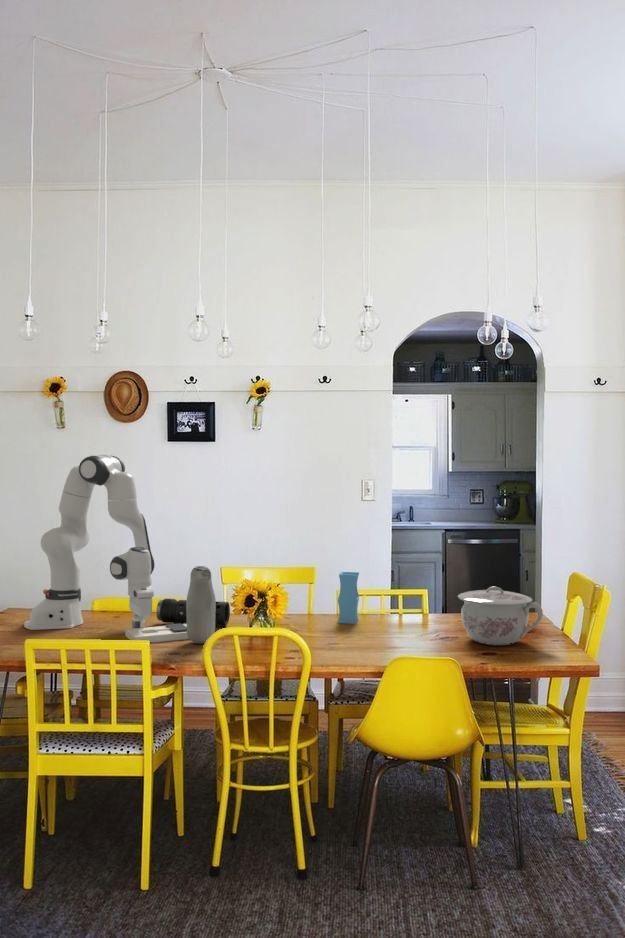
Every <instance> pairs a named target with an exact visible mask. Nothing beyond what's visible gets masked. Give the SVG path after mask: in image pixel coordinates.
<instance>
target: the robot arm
mask: <svg viewBox="0 0 625 938" xmlns="http://www.w3.org/2000/svg"><path fill="white" fill-rule="evenodd" d="M95 486H100V487H101V486H104V487H105V489H106V493H107V511H108V515H109V517H110V518H112V520H113V521H115V522H116V523H118V524H120V525H123V526H126V527H127V528H129V530H131V532H132V535H133V540H134V547H130V548H129V549H128V551H126V552H124V553H122V554H119V555H116V556H113V558H112V559H111V560H110V564H109V573H110V575H111V576H112V577H113V578H114V579H115V580H119V581H126V580H127V595H128V596H129V600H128V601H129V603H128V607H129V611H130V612H132V613H133V616H140V623H139V625H140V628H146V621H147V619H151V617H152V614H153V613H152V612H153V597H155V595H154V594H155V593H154V590H153V586H152V578H151V575H152V574H153V572H154V569H155V559H154V557H153V554H152V550H151V545H150V539H149V533H148V529H147V523H146V519H145V517H144V515H143V514H142V513H141V511H140V509H139V506H138V502H137V500H138V499H137V497H138V496H137V490H136V489H137V488H136V484H135V479H134V476H133V475H132V474H131V473H129V472H126V466H125V463H124V462H123V460H121V458H119V457H118V456H114V455H107V454H100V455H90V456H87V457H85V458H83V459H82V460H81V461H80V463H79V465H77V466H73V467H72V468H71V469H70V470H69V473H68V475H67V477H66V480H65V483H64V486H63V489H62V493H61V497H60V502H59V505H58V512H59V514H60V526H59V527H53V528H51V529H50V530H48V531H46V532H45V533H44V534H43V535H42V536H41V539H40V547H41V549H42V551H43V552H44V553H45V555H46V557H47V560H48V563H49V568H50V569H49V570H50V588H48V589H47V588H44V589H43V591H42V593H43V595H44V597H45V599H43V600H42V601H41V602H40V603H38V604H37V605H36V606H34V607H33V608H32V609H31V612H30V616H29V620H26V621H24V624H23V627H24V628H26V629H27V630H32V631H33V630H34V631H35V630H36V631H37V630H38V631H39V630H58V629H60V630H61V629H62V630H63V629H72V628H74V627H76V626H77V627H78V626H80V625H83V624H84V620H83V615H82V610H81V609H82V608H81V600H82V588H81V587H80V586H81V583H80V582H81V581H80V579H81V575H80V574H81V573H80V572H81V569H80V567H79V566H78V565H77V563H76V559H75V554H74V553H76V552H77V553H78V552H79V551H81V550H82V549H84V548H85V547H86V546H87V545H88V544H89V541H90V533H89V531H88V530H87V519H88V518H87V517H88V511H89V508H90V507H89V506H90V504H91V503H90V502H91V500H92V495H93V490H94V488H95Z"/></svg>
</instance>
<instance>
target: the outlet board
mask: <svg viewBox="0 0 625 938" xmlns="http://www.w3.org/2000/svg"><path fill="white" fill-rule="evenodd" d="M125 638H127V639H129V640H130V641H131V640H149V641H150V642H151V643H160V642H162V643H163V642H171V641H180V640H181V641H182V640H190V639H189V637H188V634H187V624H186V623H183V624H181V623H179V624H174V623H167V624H165V625H159V626H148V627H146V626H145V628H135V629H132V628H126V629H125ZM151 643H150V644H151Z"/></svg>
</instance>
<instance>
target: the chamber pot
mask: <svg viewBox="0 0 625 938" xmlns="http://www.w3.org/2000/svg"><path fill="white" fill-rule="evenodd" d="M457 598H458V599H459V600H461V601H463V602H464V604H463V606H462V607H461V609H460V610H461V611H460V616H461V621H462V622H461V623H462V626H463V629H464V630H465V631H466V633H467V635H468V636H469V638H470V639H471V640H472V641H474V642H476V643H479V644H482V645H486V646H494V647H496V646H498V647H503V646H509V645H513V644H515V643H517V642H518V641H520V639H521V638H523V637H524V636H525V635H526V633H528V632H529V631H530V630H532V629H534V628H536V627H537V626H538V625H540V623H541V622H542V621H543V616H544V613H543V612H544V611H543V609H542V606H541V605H540V604H539V603H538V602H537V601H534V600H533V598H532V597H531V596H528V595H525V594H522V593H518V592H515V591H508V590H503V589H502V588H501V587H498V586H489V587H487V589H478V590H469V591H465V592H461V593H459V594H458V595H457ZM532 608H533V609H536V610H537V618H536V620H535V621H534V622H533V624H530V625H528V622H529V615H530V611H529V610H530V609H532ZM477 641H478V642H477ZM481 642H482V643H481ZM514 642H515V643H514ZM487 643H489V644H487ZM508 643H512V644H508Z"/></svg>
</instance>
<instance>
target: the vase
mask: <svg viewBox="0 0 625 938" xmlns="http://www.w3.org/2000/svg"><path fill="white" fill-rule="evenodd" d="M359 575H360V572H357V571H340V573H338V578H339V583H340V584H339V585H340V586H339V588H340V589H339V594H338V597H337V603H338V609H339V613H338V619H337V620H338V621H337V624H350V625H351V624H353V625H354V624H356V625H357V624H358V622H359V615H358V606H359V601H360V595H359V592H358V591H359V590H358V580H359Z"/></svg>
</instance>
